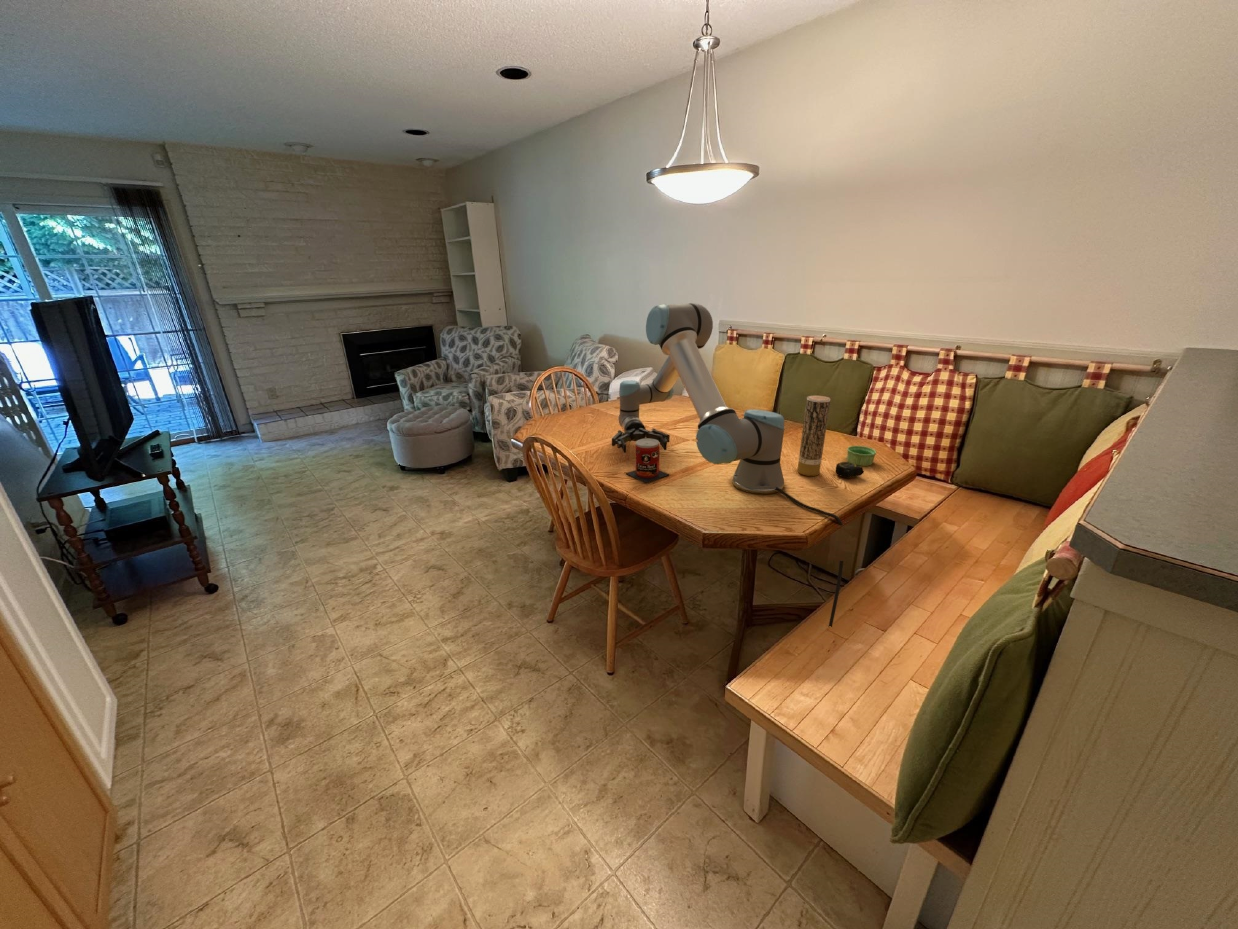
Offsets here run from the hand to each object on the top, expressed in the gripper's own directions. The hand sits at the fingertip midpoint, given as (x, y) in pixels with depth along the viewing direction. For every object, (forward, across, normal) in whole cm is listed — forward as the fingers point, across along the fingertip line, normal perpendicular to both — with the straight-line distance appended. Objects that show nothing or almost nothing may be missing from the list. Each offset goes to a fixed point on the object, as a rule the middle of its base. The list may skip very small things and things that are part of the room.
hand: (645, 447), depth 157 cm
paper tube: (+12, -52, -8) cm, 54 cm away
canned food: (+4, 0, -8) cm, 9 cm away
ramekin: (+6, -74, -8) cm, 75 cm away
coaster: (+4, 0, -8) cm, 9 cm away
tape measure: (+17, -63, -8) cm, 66 cm away
